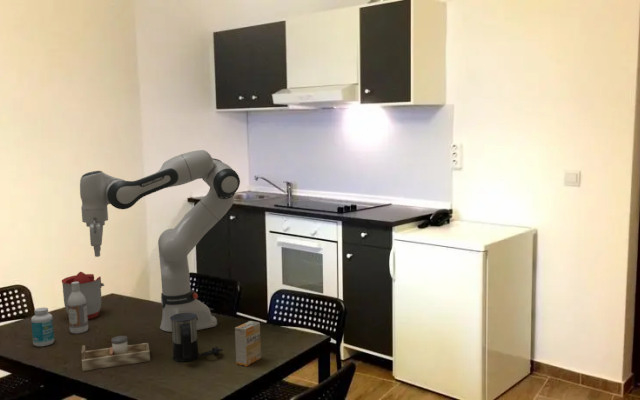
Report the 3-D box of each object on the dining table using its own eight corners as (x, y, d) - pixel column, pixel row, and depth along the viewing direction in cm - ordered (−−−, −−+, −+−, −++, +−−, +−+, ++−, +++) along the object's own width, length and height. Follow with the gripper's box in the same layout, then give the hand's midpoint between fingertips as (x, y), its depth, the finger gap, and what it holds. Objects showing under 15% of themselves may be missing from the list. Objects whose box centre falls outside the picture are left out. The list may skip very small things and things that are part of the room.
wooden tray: (148, 352, 223) (147, 336, 222) (150, 361, 215) (149, 344, 214) (83, 361, 216) (82, 344, 216) (82, 370, 208) (81, 353, 207)
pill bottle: (46, 347, 230) (43, 312, 229) (29, 346, 232) (25, 311, 230) (58, 340, 238) (55, 306, 236) (41, 339, 239) (38, 305, 237)
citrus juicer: (114, 314, 268) (110, 269, 265) (76, 325, 255) (72, 278, 252) (95, 308, 278) (92, 264, 275) (58, 318, 265) (54, 272, 263)
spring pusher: (113, 354, 218) (112, 346, 218) (113, 361, 212) (112, 353, 212) (110, 355, 218) (109, 347, 217) (110, 362, 212) (109, 353, 211)
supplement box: (247, 367, 207) (245, 329, 206) (235, 364, 210) (234, 327, 208) (262, 358, 214) (260, 322, 213) (251, 356, 217) (249, 320, 215)
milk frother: (168, 356, 219) (165, 315, 217) (209, 345, 228) (207, 306, 226) (184, 368, 208) (182, 326, 206) (226, 357, 217) (224, 316, 215)
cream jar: (128, 353, 219) (126, 334, 218) (129, 358, 214) (127, 339, 214) (112, 356, 217) (110, 337, 216) (113, 361, 213) (111, 341, 212)
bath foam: (66, 333, 246) (61, 284, 243) (77, 327, 252) (73, 279, 250) (80, 334, 244) (76, 285, 241) (92, 328, 250) (88, 280, 248)
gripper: (103, 219, 215) (106, 258, 217) (104, 211, 234) (107, 247, 236) (84, 221, 213) (87, 260, 215) (86, 213, 232) (89, 249, 234)
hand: (97, 253), depth 226 cm, fingers open, 8 cm apart
